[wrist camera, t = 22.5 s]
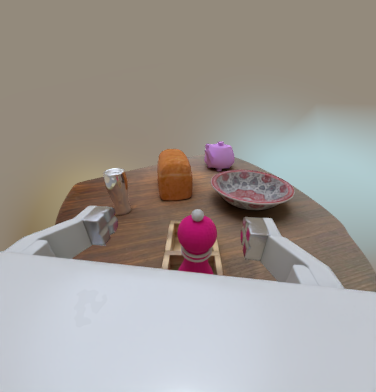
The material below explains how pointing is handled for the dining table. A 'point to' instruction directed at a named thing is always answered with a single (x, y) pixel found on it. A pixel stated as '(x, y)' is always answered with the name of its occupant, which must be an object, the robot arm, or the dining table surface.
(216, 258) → the divided wooden box
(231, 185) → the ceramic bowl
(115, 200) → the metal cup
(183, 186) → the bread
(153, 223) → the dining table surface
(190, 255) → the pepper mill
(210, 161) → the teapot
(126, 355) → the robot arm
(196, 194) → the dining table surface
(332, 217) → the dining table surface
